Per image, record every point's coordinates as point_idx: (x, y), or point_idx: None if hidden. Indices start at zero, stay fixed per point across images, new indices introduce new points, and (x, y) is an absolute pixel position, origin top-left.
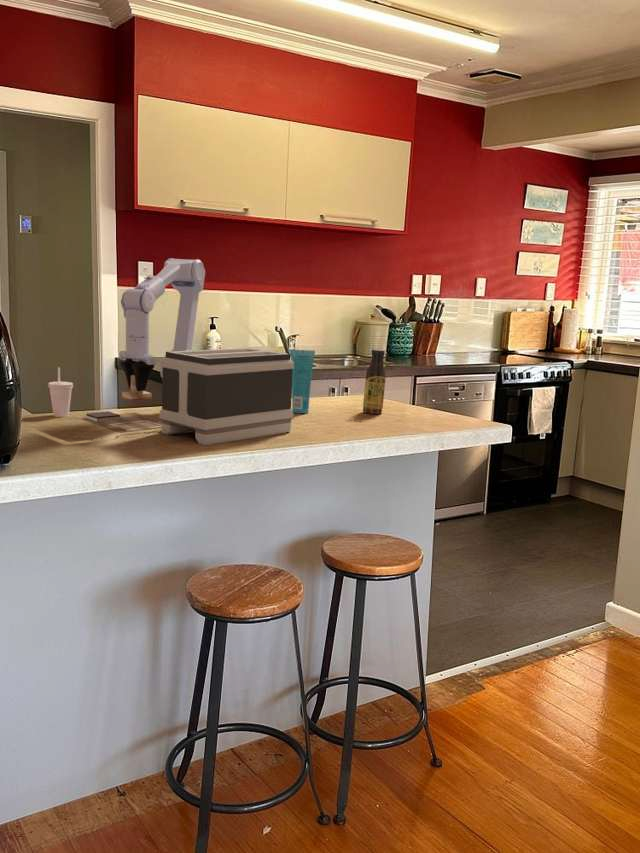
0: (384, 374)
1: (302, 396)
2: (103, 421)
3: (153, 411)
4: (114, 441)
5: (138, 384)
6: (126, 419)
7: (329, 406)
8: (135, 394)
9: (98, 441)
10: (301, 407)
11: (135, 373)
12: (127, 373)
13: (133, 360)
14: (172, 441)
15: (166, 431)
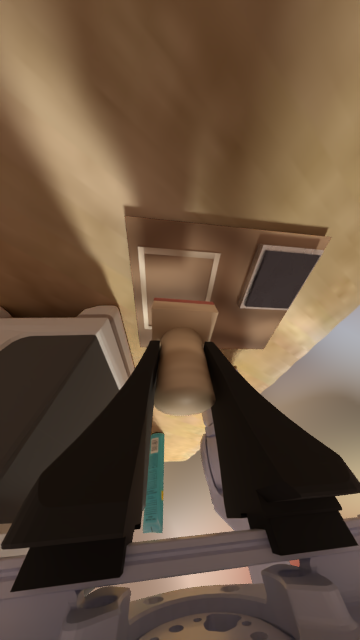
0: None
1: (150, 454)
2: (252, 262)
3: (259, 371)
4: (57, 140)
5: (141, 359)
6: (235, 313)
7: (167, 447)
8: (152, 324)
9: (67, 71)
10: (151, 440)
11: (129, 407)
12: (231, 393)
13: (242, 538)
14: (35, 281)
15: (96, 307)
